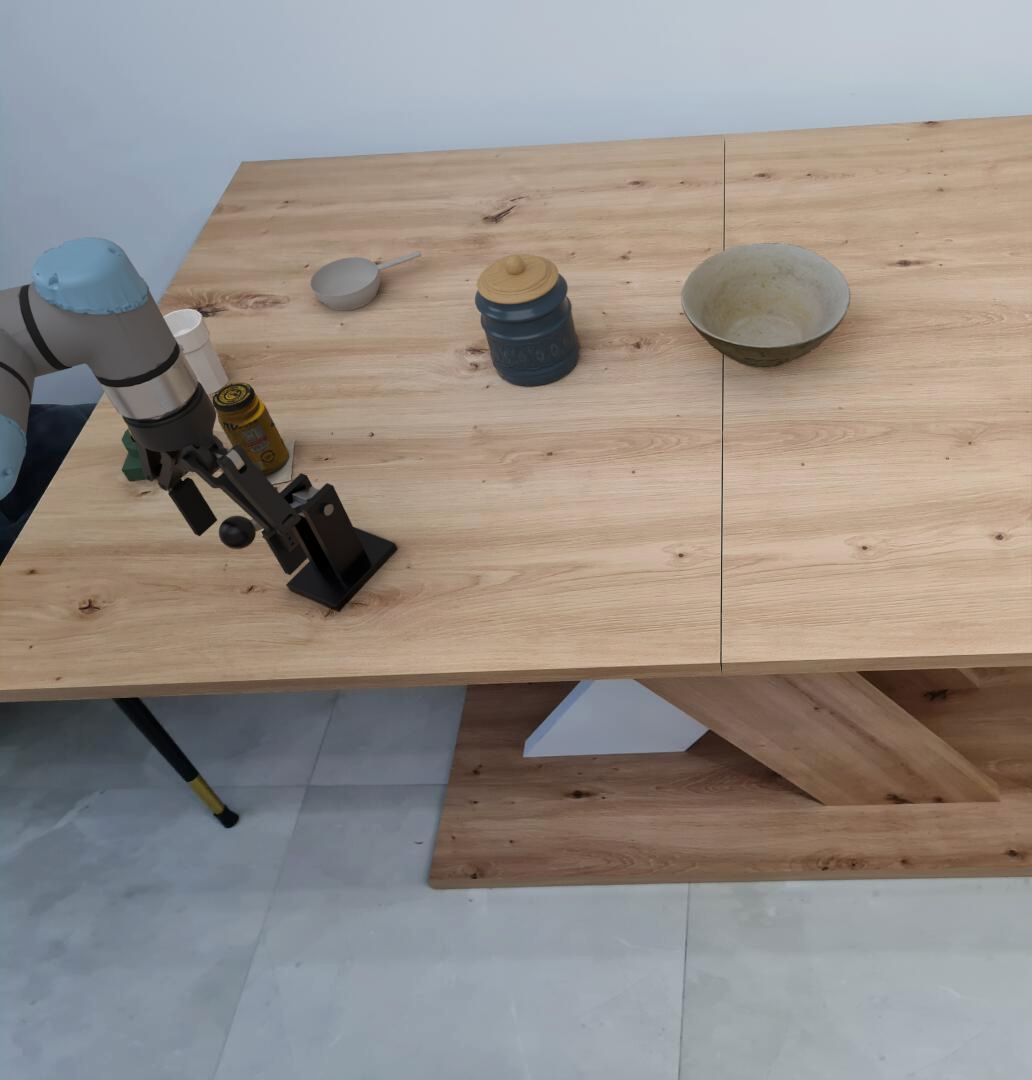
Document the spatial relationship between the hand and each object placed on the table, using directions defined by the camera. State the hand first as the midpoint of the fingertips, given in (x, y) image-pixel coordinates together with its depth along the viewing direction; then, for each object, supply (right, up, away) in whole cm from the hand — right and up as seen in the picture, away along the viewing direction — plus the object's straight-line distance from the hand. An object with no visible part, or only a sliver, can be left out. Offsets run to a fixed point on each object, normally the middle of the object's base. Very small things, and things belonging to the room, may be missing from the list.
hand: (250, 546), depth 115 cm
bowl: (+58, +29, +39) cm, 76 cm away
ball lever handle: (+2, +2, +2) cm, 3 cm away
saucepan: (-5, +41, +56) cm, 70 cm away
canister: (+24, +27, +40) cm, 54 cm away
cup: (-25, +24, +42) cm, 54 cm away
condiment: (-11, +11, +29) cm, 33 cm away
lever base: (+5, -3, +15) cm, 16 cm away
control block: (-27, +13, +32) cm, 44 cm away
